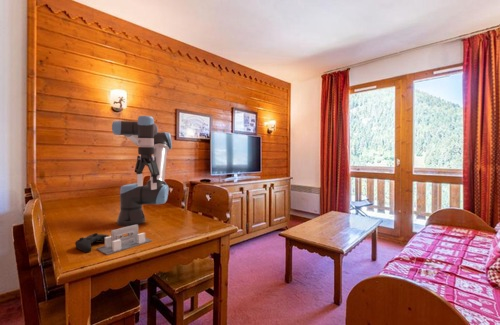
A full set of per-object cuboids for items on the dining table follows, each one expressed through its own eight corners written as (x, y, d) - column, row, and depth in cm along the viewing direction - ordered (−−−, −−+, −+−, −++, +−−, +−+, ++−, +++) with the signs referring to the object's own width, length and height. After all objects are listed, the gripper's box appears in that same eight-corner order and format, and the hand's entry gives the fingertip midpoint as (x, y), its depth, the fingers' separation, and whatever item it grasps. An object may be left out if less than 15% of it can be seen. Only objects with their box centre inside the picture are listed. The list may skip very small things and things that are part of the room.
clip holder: (96, 249, 105) (96, 239, 105) (140, 236, 121) (140, 227, 121) (107, 255, 99) (106, 244, 99) (151, 241, 116) (151, 231, 115)
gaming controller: (89, 243, 101) (69, 237, 103) (87, 257, 101) (67, 250, 103) (114, 232, 115) (97, 227, 117) (112, 244, 115) (95, 239, 117)
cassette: (137, 239, 116) (136, 223, 115) (139, 240, 115) (139, 224, 114) (110, 247, 106) (110, 230, 106) (112, 248, 105) (112, 231, 105)
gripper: (127, 146, 129) (127, 185, 130) (152, 147, 114) (153, 191, 115) (140, 146, 135) (141, 184, 136) (166, 147, 119) (167, 189, 121)
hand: (146, 187), depth 126 cm, fingers open, 13 cm apart
